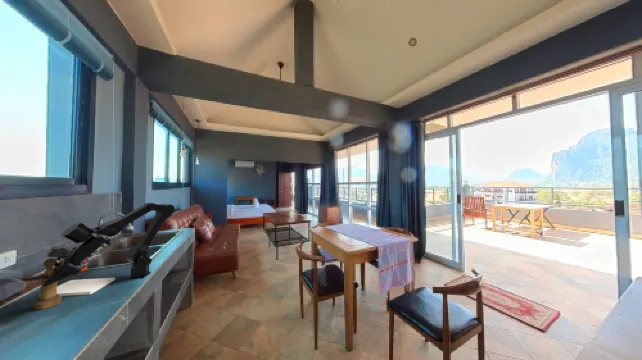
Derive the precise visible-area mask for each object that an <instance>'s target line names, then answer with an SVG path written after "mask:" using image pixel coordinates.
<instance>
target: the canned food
mask: <svg viewBox="0 0 642 360" xmlns="http://www.w3.org/2000/svg"><path fill="white" fill-rule="evenodd" d="M88 261H89V257H88V258H86V259H85V260H84V261H83V262H82V263H81V265H80V267H81V273H84V272H86V271H87V270H88V269H89V267H88V266H89V262H88ZM85 270H86V271H85ZM83 271H84V272H83Z"/></svg>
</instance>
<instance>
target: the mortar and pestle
mask: <svg viewBox="0 0 642 360" xmlns="http://www.w3.org/2000/svg"><path fill="white" fill-rule="evenodd" d="M56 262H57V260H55V258H53V257H51V258H48V259H45V260H44V262H43V263H42V264H43V266H44V267H45V268H46V270H45V271H44V274H45V275H44V276H43V277H41V278H40V292H39V297H40V298H38V299H37V300H35V302H34V303H33V308H34V310H38V311H39V310H44V309H45V310H46V309H48V308H52V307H55V306H58V305H59V304H60V303H61V302H62V297H63V296H61V295H59V294H57V286H58V281H56V282H54V283H52V284H50V285H48V286H45V287H44V286H42V284H43V283H44V282H45V281H46V280H47V279H48V278H49V277H50V276H51V275H52V274H53V273H54V269H53V268H54V264H55V263H56Z"/></svg>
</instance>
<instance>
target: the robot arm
mask: <svg viewBox="0 0 642 360" xmlns="http://www.w3.org/2000/svg"><path fill="white" fill-rule="evenodd" d="M175 210H176V209H175V206H174V205H173V204H171V203H169V204H168V203H162V204H157V203H155V202H146V203H144V204H143V205H141V206H139V207H138V208H135V209H133V210H132V211H130V212H128V213H127V214H124V215H122V216H121V217H119V218H116V219H112V220H109V221H107V222H103V223H102V224H100V225H99V226H95V227H92V228H90V227H89V226H86V225H85V224H84V223H83V222H78V223H76V224H74V225H72V226H70V227H68V228H67V229H65V230H64V231H63V232H62V233H61V234H60V235H61V237H63V238H65V239H67V240H68V241H71V242H73V243H74V244H79V245H78V246H74V247H72V248H68V247H62V246H55V245H53V246H51V247H50V248H49V250H48V251H47V253H46V257H49V258H53V257H54V259H55V260H56V263H55V264H54V266H53V269H54V273H53V274H52V275H51V276H50V277H49V278H48V279H47V280H46V281H45V282H44V283H43V284H42V286H44V287H45V286H48V285H50V284H52V283H54V282H56V281H57V282H58V281H60V280H63V279H65V278H67V277H70V276H73V277H76V276H78V275H79V274H81V273H82V272H81V267H80V265H81V263H82V262H83V261H84V260H85V259H86V258H88V259H89V258H91V257H92V256H93V253H96V251H97V250H98V249H100V248H101V247H102V246H103V245H104V244H105V245H107V246H111V237H115V236H117V235H118V234H119V233H121V232H122V231H123V230H124V229H125V228H126V227H127V226H128V225H129V224H131V223H133V222H135V221H137V220H138V219H140V218H141V217H143V216H145V215H146V214H148V213H150V212H151V211H153V212H155V214H154V215H155V216H154V219H153V220H152V222H151V223H150V225H149V226H148V228H147V229H146V231H145V233H144V234H143V236H142V237H141V239H140V241H139V242H138V243H137V244H136V245H135V246H134V245H131V246H130V247H129V250H127V252H126V253H125V255H126V256H125V258H126V260H127V262H129V263H130V265H131V267H130V277H129V278H128V279H129V280H131V279H144V278H146V277H147V276H149V275H150V274H151V273H152V271H150V264H152V261H153V259H152V258H150V257H149V256H148V254H149V251H150V246H151V243H152V242H153V241H154V240H155V237H156V236H157V234H158V232H159V231H160V229H161V227H162V225H164V222H165V221H166V220H168V219H169V218H170V217H171V216H172V215H173V214H174V213H175ZM95 235H96V236H95ZM105 237H107V238H105ZM80 243H81V244H80ZM80 272H81V273H80Z"/></svg>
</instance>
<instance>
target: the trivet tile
mask: <svg viewBox="0 0 642 360" xmlns="http://www.w3.org/2000/svg"><path fill="white" fill-rule="evenodd" d="M114 281H116V278H115V277H105V278H104V277H103V278H87V279H85V278H83V279H70V280H68V281H67V282H64V283H61V284H60V285H57V294H59V295H61V296H62V297H70V296H85V295H87V296H88V295H92V294H94V293H95V292H97V291H99V290H101V289H102V288H104V287H105V286H108V285H110V284H111V283H112V282H114ZM38 299H40V296H39V298H38Z"/></svg>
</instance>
